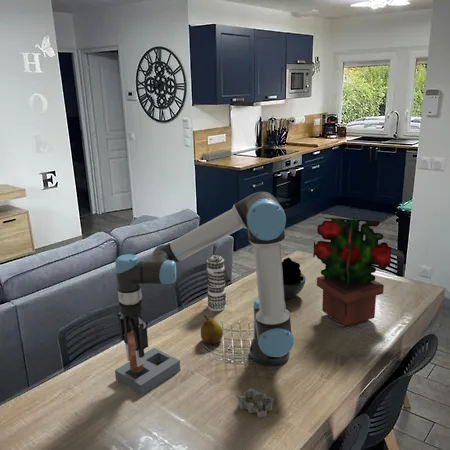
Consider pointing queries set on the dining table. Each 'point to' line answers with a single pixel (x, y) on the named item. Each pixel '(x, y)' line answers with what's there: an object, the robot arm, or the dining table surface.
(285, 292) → the bowl of black rocks
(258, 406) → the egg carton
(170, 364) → the socket block
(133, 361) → the peg
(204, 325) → the fruit
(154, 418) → the dining table surface
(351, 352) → the dining table surface
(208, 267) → the decorative candle
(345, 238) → the potted plant
